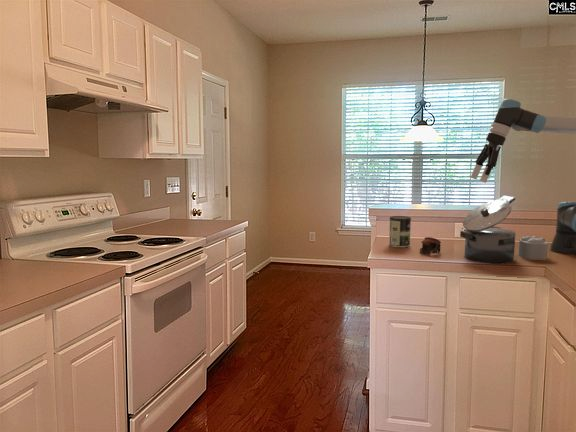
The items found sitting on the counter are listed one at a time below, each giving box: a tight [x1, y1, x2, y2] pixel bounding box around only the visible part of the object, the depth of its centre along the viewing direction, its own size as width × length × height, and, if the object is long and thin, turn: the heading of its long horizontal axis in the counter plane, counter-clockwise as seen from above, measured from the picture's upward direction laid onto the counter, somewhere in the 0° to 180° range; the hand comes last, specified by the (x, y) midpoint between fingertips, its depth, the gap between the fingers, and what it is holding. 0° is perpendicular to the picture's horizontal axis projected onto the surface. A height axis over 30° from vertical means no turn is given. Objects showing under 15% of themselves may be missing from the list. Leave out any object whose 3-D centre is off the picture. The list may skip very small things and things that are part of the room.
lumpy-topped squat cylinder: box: [518, 235, 549, 261], centre depth 214 cm, size 10×13×9 cm
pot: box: [459, 227, 516, 265], centre depth 210 cm, size 22×25×12 cm
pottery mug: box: [419, 236, 441, 256], centre depth 221 cm, size 12×10×8 cm
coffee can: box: [388, 215, 412, 248], centre depth 237 cm, size 10×10×14 cm
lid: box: [462, 195, 516, 232], centre depth 208 cm, size 24×21×3 cm
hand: (477, 180), depth 215 cm, fingers open, 13 cm apart
